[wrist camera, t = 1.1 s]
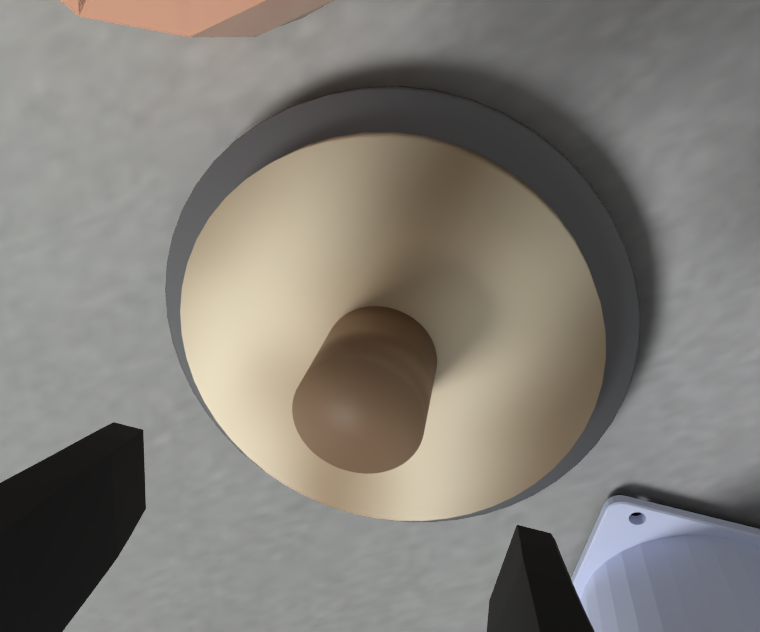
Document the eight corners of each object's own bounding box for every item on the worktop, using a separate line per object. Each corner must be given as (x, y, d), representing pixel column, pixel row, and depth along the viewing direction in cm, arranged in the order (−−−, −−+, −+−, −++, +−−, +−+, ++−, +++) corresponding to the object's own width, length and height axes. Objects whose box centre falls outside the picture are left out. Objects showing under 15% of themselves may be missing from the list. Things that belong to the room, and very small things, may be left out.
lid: (668, 183, 14) (724, 232, 11) (532, 537, 20) (539, 648, 16) (199, 91, 15) (108, 108, 12) (193, 449, 21) (129, 535, 17)
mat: (714, 142, 15) (728, 149, 14) (551, 542, 21) (553, 565, 20) (181, 42, 16) (163, 42, 15) (180, 447, 22) (166, 464, 21)
